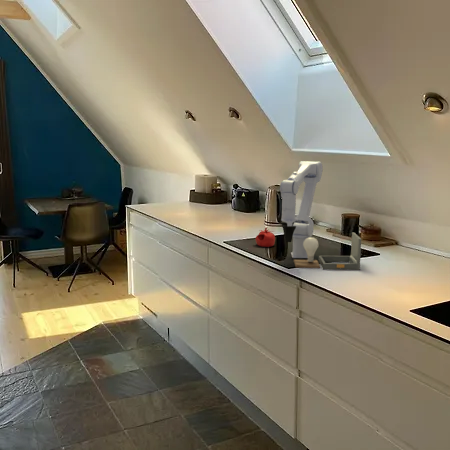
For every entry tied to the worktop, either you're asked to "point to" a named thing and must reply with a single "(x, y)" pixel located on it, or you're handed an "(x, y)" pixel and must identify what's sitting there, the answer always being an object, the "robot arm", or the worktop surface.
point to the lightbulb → (310, 247)
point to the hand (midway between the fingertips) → (287, 240)
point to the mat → (306, 264)
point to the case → (344, 257)
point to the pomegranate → (265, 238)
